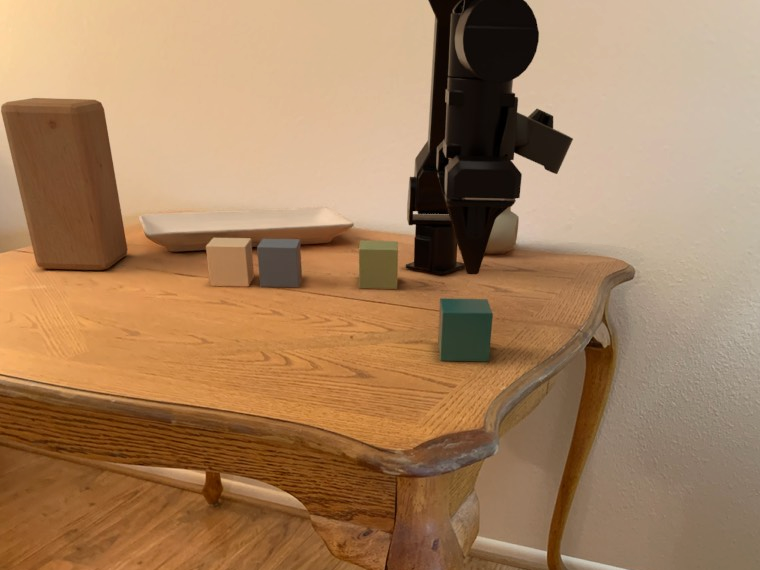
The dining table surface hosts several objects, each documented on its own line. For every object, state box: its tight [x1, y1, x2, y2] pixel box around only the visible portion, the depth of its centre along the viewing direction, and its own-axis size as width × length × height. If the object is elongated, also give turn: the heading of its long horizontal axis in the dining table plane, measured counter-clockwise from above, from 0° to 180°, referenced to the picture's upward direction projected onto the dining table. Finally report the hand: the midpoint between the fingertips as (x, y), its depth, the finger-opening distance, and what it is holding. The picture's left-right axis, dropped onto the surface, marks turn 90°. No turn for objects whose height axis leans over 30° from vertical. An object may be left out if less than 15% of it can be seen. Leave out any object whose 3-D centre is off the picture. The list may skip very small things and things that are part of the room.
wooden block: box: [0, 97, 128, 271], centre depth 103 cm, size 10×10×20 cm
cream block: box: [205, 238, 255, 287], centre depth 101 cm, size 5×5×5 cm
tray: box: [138, 206, 355, 253], centre depth 122 cm, size 17×31×4 cm, turn 110°
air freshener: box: [484, 206, 519, 255], centre depth 118 cm, size 11×8×10 cm
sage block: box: [358, 240, 399, 290], centre depth 101 cm, size 5×5×5 cm
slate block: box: [256, 239, 303, 288], centre depth 101 cm, size 5×5×5 cm
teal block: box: [437, 298, 494, 362], centre depth 79 cm, size 5×5×5 cm
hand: (468, 261), depth 76 cm, fingers open, 9 cm apart
